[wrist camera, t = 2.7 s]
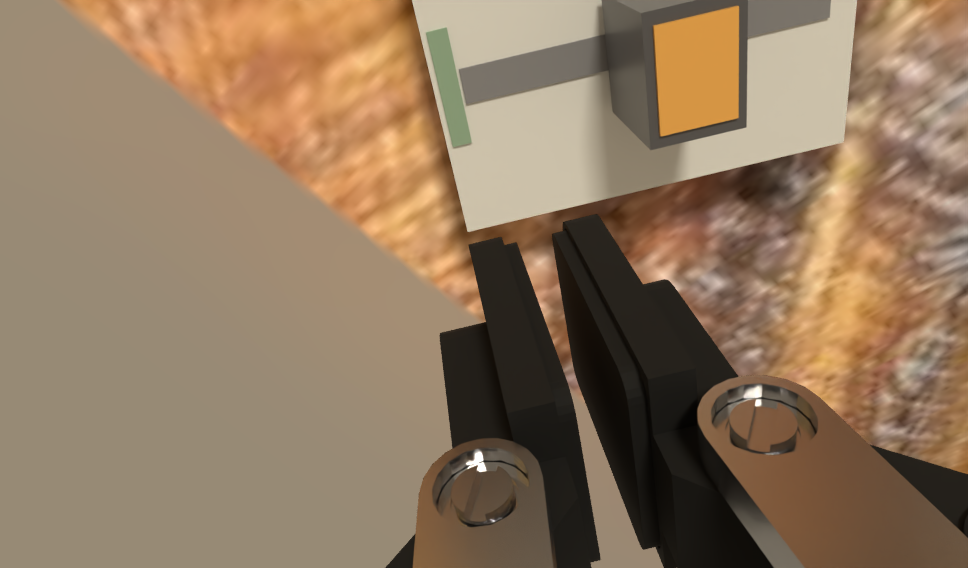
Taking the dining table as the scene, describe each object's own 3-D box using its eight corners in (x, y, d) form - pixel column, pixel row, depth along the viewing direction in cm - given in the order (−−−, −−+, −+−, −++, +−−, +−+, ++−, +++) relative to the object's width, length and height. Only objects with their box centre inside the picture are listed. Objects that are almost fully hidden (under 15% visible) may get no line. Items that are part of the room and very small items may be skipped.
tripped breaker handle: (691, -29, 22) (750, -12, 18) (694, 92, 24) (748, 128, 20) (600, -8, 22) (642, 13, 18) (612, 111, 24) (651, 151, 20)
